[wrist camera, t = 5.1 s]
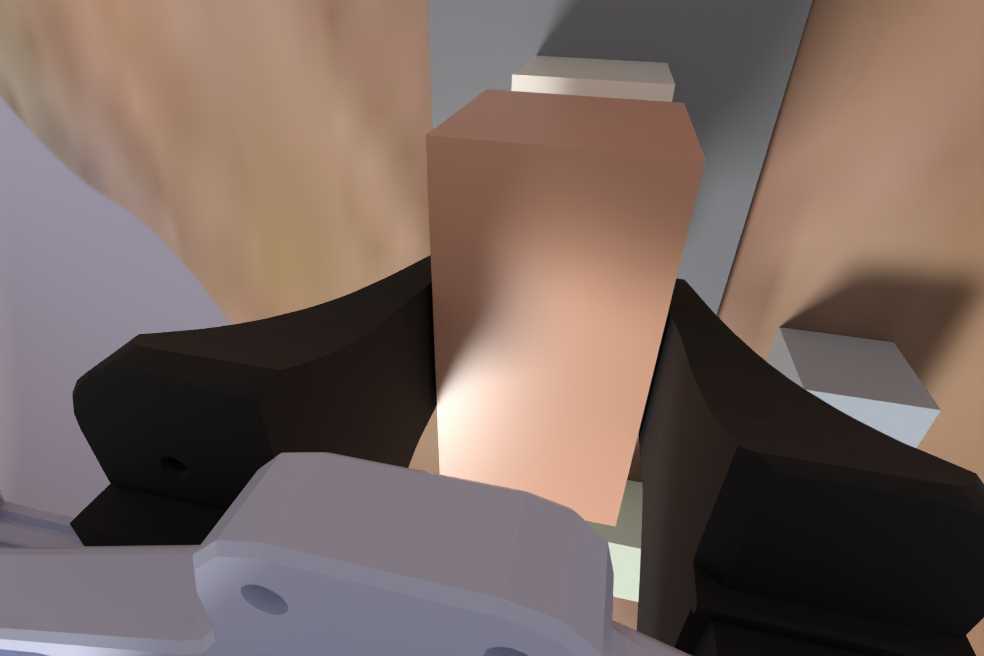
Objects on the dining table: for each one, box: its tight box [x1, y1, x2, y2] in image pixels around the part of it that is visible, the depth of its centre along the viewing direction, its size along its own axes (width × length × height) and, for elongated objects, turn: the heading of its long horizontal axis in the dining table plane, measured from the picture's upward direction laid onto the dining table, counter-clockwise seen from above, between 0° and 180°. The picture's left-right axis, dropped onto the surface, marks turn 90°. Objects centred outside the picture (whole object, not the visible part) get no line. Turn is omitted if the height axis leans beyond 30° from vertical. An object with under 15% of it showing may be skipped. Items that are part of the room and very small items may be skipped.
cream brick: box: [511, 55, 675, 102], centre depth 17 cm, size 8×4×4 cm, turn 179°
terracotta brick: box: [426, 89, 706, 527], centre depth 11 cm, size 8×4×4 cm, turn 179°
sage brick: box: [586, 480, 643, 602], centre depth 26 cm, size 8×4×4 cm, turn 89°
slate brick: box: [766, 327, 941, 448], centre depth 21 cm, size 8×4×4 cm, turn 179°
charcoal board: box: [428, 0, 813, 315], centre depth 19 cm, size 22×11×1 cm, turn 179°
